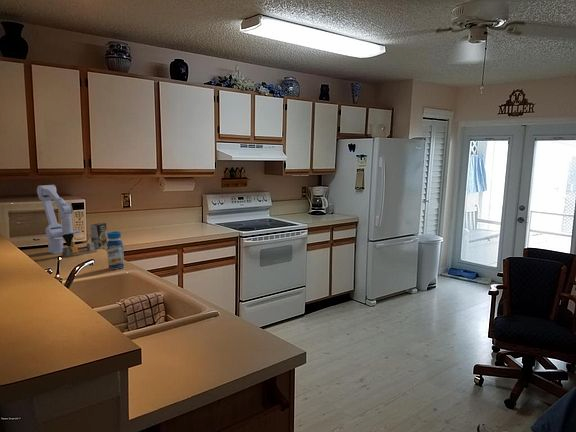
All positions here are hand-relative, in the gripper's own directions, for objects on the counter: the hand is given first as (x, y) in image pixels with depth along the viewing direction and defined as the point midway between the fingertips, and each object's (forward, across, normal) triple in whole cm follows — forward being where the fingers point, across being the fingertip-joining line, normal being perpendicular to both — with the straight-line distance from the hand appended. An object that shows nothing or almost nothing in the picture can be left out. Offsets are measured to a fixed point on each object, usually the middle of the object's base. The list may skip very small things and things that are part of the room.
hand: (68, 246), depth 270 cm
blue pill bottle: (+6, +1, -53) cm, 53 cm away
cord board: (+6, +6, 0) cm, 9 cm away
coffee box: (+6, +24, +7) cm, 25 cm away
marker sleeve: (+4, +2, 0) cm, 5 cm away
